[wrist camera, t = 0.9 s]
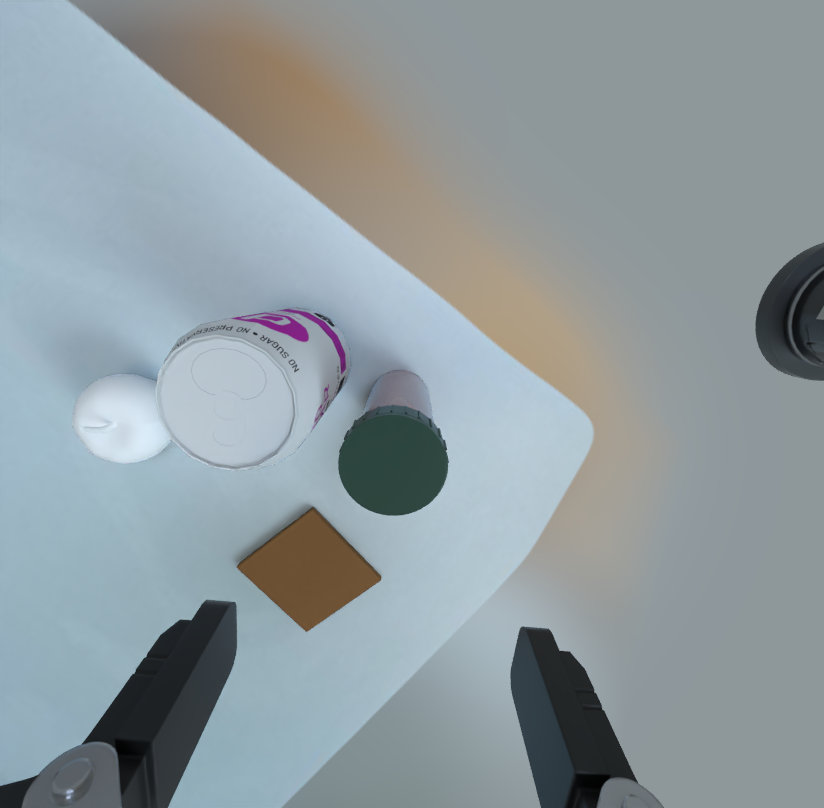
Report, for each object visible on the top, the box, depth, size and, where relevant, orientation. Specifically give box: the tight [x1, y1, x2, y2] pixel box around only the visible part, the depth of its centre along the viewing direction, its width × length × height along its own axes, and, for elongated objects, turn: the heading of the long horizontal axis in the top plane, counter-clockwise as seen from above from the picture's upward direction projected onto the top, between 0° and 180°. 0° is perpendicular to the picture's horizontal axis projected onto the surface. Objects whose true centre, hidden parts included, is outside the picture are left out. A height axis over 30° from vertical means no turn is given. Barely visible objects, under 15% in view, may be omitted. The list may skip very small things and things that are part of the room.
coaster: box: [237, 507, 381, 632], centre depth 40 cm, size 10×10×1 cm
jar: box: [361, 370, 434, 423], centre depth 29 cm, size 5×5×14 cm
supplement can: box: [154, 308, 351, 471], centre depth 27 cm, size 8×8×15 cm
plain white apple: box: [72, 374, 171, 464], centre depth 32 cm, size 7×7×8 cm
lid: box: [338, 404, 449, 516], centre depth 23 cm, size 6×6×2 cm
